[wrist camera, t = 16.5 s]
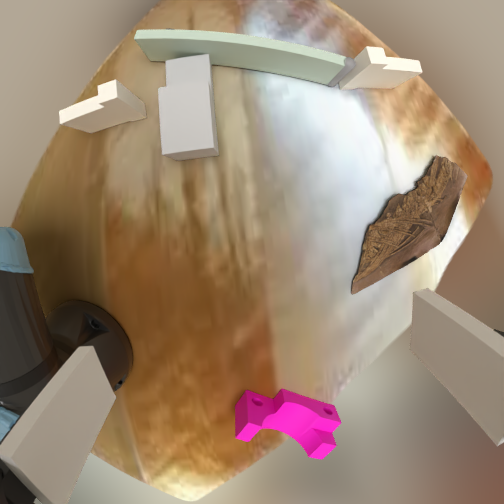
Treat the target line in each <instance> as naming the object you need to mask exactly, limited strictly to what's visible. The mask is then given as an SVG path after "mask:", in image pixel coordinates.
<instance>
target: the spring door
mask: <svg viewBox="0 0 504 504" xmlns="http://www.w3.org/2000/svg"><path fill="white" fill-rule="evenodd" d="M134 39H135V41H136V42H137V43H138V45H139V46H140V48H141V49H142V50H143V52H144V53H145V54H146V56H147V57H148V58H149V60H150V61H166V60H172V59H177V58H183V57H190V56H196V55H204V54H209V57H210V61H211V64H213V65H223V66H231V67H239V68H246V69H253V70H259V71H265V72H271V73H276V74H281V75H286V76H291V77H296V78H300V79H305V80H309V81H313V82H317V83H321V84H325V85H328V86H330V87H334V86H335V85H336V84H337V83H338V82H339V81H341V80H342V79H343V78H344V77H345V76H346V75H347V74H348V73H349V72H350V71H351V70H352V69H353V68H354V67H355V66H356V62H355V61H354V59H352V58H350V57H344V56H341V55H338V54H334V53H331V52H327V51H323V50H320V49H316V48H312V47H307V46H303V45H299V44H294V43H289V42H284V41H279V40H274V39H268V38H262V37H256V36H249V35H242V34H233V33H224V32H213V31H198V30H175V29H165V30H137V32H136V35H135V38H134Z"/></svg>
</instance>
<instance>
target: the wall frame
mask: <svg viewBox="0 0 504 504" xmlns="http://www.w3.org/2000/svg"><path fill="white" fill-rule="evenodd" d="M354 61H355V62H356V66H355V67H354V68H353V69H352V70H351V71H350V72H349V73H348V74H347V75H346V76H345V77H344V78H343V79H342V80H341V81H339V82H338V83H339V87H340V90H354V89H355V88H381V89H393V88H395V87H397V86H398V85H400V84H402V83H404V82H406V81H408V80H409V79H411V78H413V77H415V76H417V75H419V74H421V73H422V69H421V66H420V62H419V61H418V60H411V59H403V58H393V57H386V56H385V53H384V49H383V48H378V47H365V48H364V49H363V50H362V51H361V52H360V53H359V54H358V55H357V56H356V57H355V58H354ZM59 115H60V124H61V125H65V126H68V127H71V128H75V129H78V130H81V131H85V132H88V133H94V132H97V131H100V130H103V129H106V128H109V127H112V126H115V125H118V124H122V123H125V122H128V121H131V122H134V121H137V120H141V119H144V118H147V116H146V108H145V103H144V102H143V101H141V100H140V99H139V98H138V97H137V96H135V95H134V94H133V93H132V92H131V91H129V90H128V89H127V88H126V87H125V86H123V85H122V84H121V83H120V82H118V81H117V80H113V81H110V82H107V83H104V84H102V85H99V86H98V96H95V97H93V98H90V99H87V100H85V101H82V102H80V103H77V104H75V105H72V106H70V107H68V108H65V109H63V110H61V111H59Z"/></svg>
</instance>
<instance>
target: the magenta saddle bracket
mask: <svg viewBox="0 0 504 504" xmlns="http://www.w3.org/2000/svg"><path fill="white" fill-rule="evenodd" d="M340 424H341V420H340V418H339V416H338V413H337V411H336V408H335V406H334V405H332V404H331V405H330V404H327V403H323V402H320V401H317V400H314V399H311V398H308V397H305V396H302V395H299V394H296V393H293V392H290V391H287V390H285V389H281V390H280V391H279V393H278V394H277V395H276V397H275V398H274V399H271V398H268V397H265V396H262V395H259V394H257V393H254V392H251V391H249V390H246V391H245V393H244V394H243V396H242V397H241V398H240V400H239V401H238V402H237V404H236V405H235V437H236V438H237V439H240V440H243V441H246V442H249V441H250V440H251V439H252V438H253V436H254V435H255V434H256V433H257V432H258V431H259V430H260V429H263V428H270V429H275V430H279V431H281V432H284V433H286V434H288V435H289V436H291V437H292V438H294V439H295V440H296V441H297V442H298V443H299V444H301V446H302V447H303V448H304V450H305V451H306V453H307V454H308V456H309V457H311V458H317V459H323V458H324V457H325V456H326V455H327V454H328V453H330V452H331V451H332V450H333V449H334V448H335V447H336V442H335V440H334V437H333V434H332V432H333V431H334V430H335V429H336V428H337V427H338V426H339V425H340Z"/></svg>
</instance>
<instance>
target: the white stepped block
mask: <svg viewBox="0 0 504 504" xmlns="http://www.w3.org/2000/svg"><path fill="white" fill-rule="evenodd" d="M158 95H159V116H160V132H161V146H162V155H164V156H167V157H169V158H172V159H175V160H177V161H181V160H188V159H195V158H203V157H211V156H219V150H218V139H217V128H216V116H215V104H214V91H213V79H212V66H211V61H210V57H209V54H204V55H196V56H190V57H183V58H177V59H172V60H166V87H161V88H158Z"/></svg>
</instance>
